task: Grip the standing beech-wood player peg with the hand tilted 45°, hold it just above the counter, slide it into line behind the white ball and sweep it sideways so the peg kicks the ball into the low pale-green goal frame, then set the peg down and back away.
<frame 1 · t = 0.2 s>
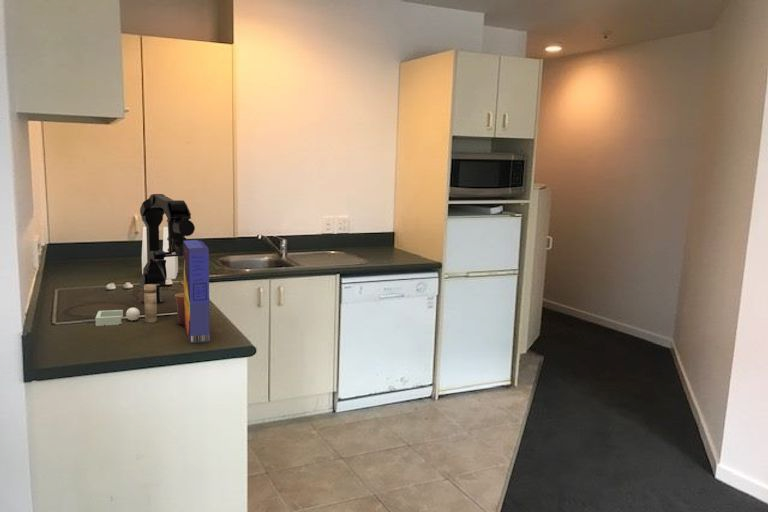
hand: (178, 277, 224), 14 cm above the countertop, tool pointing down, fingers open, 9 cm apart
cereal box: (196, 334, 201), on the countertop
milk carton: (160, 276, 309), on the countertop
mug: (192, 323, 216), on the countertop
player peg: (151, 321, 216), on the countertop
ball: (132, 314, 216), point 2 cm above the countertop
goal: (109, 321, 214), on the countertop
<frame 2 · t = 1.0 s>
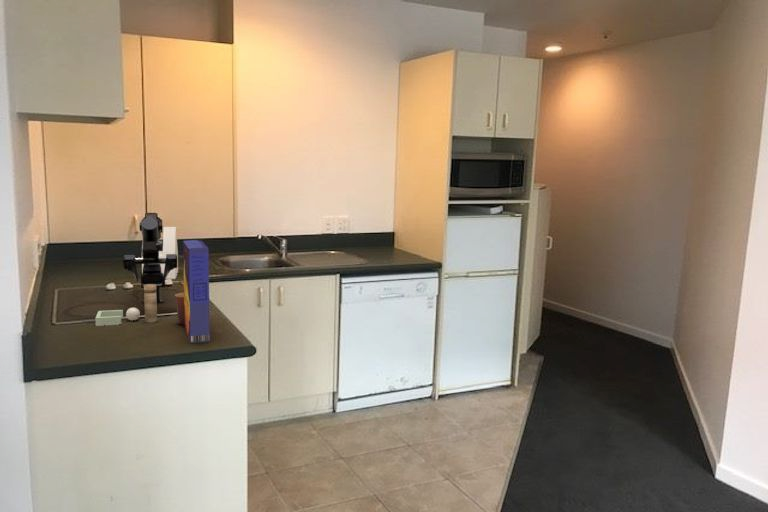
hand: (150, 280, 222), 13 cm above the countertop, tool tilted 45°, fingers open, 9 cm apart
nothing on the countertop moved.
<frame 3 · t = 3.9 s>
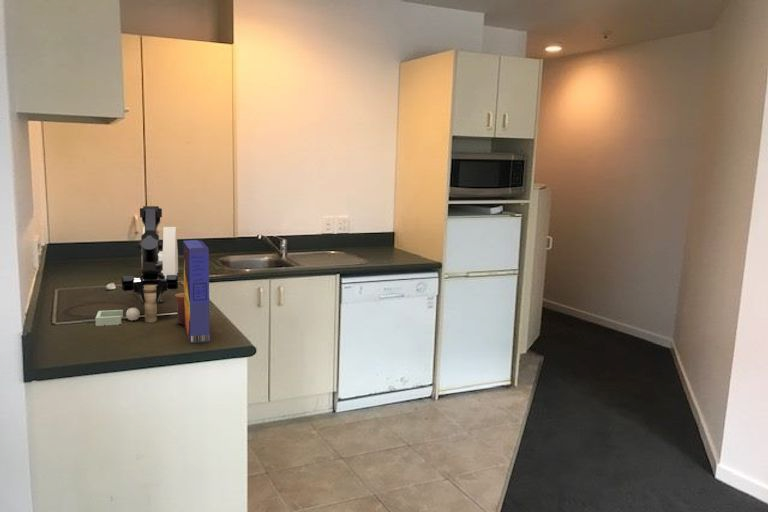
hand: (150, 302, 214), 7 cm above the countertop, tool tilted 45°, fingers closed on player peg, 4 cm apart
player peg: (151, 321, 216), on the countertop, touching gripper
everything else where it was.
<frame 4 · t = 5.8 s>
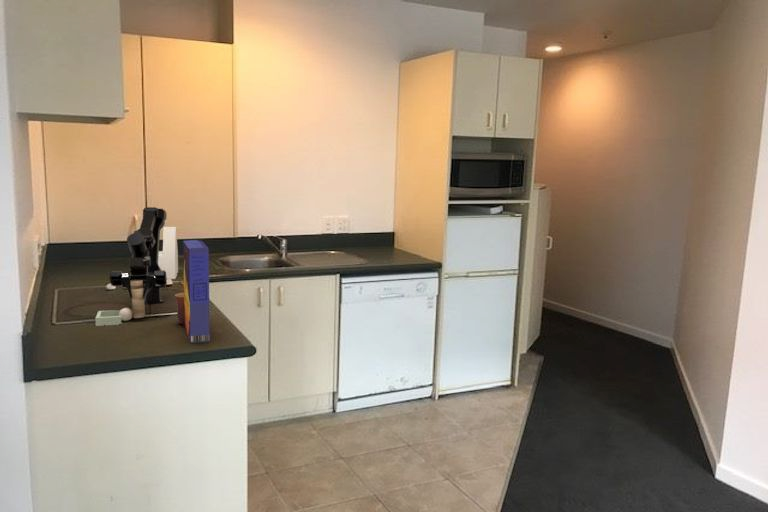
hand: (137, 297, 214), 8 cm above the countertop, tool tilted 45°, fingers closed on player peg, 4 cm apart
player peg: (139, 316, 217), point 1 cm above the countertop, touching gripper
ball: (125, 314, 216), point 2 cm above the countertop, tilted 57°
everything else where it was.
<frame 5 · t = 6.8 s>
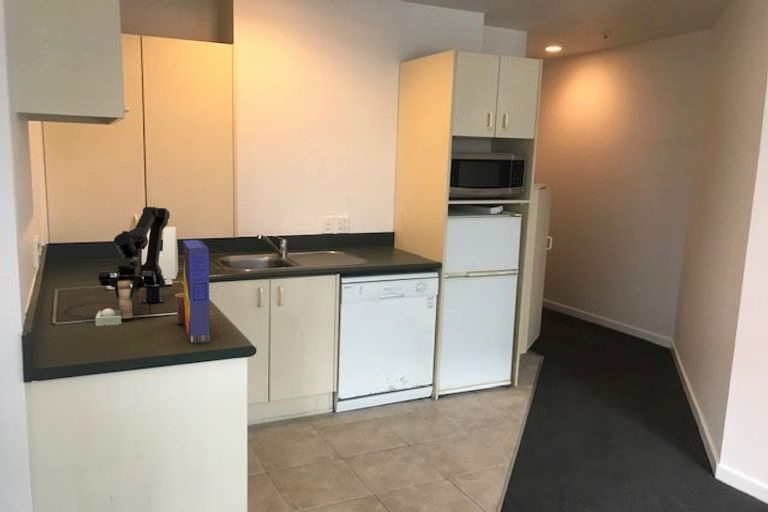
hand: (124, 298, 213), 8 cm above the countertop, tool tilted 45°, fingers closed on player peg, 4 cm apart
player peg: (126, 317, 216), point 1 cm above the countertop, touching gripper
ball: (108, 315, 214), point 2 cm above the countertop, tilted 159°
everything else where it was.
when the fingers open (7 cm above the countertop, at t = 7.7 s): player peg stays where it is, on the countertop.
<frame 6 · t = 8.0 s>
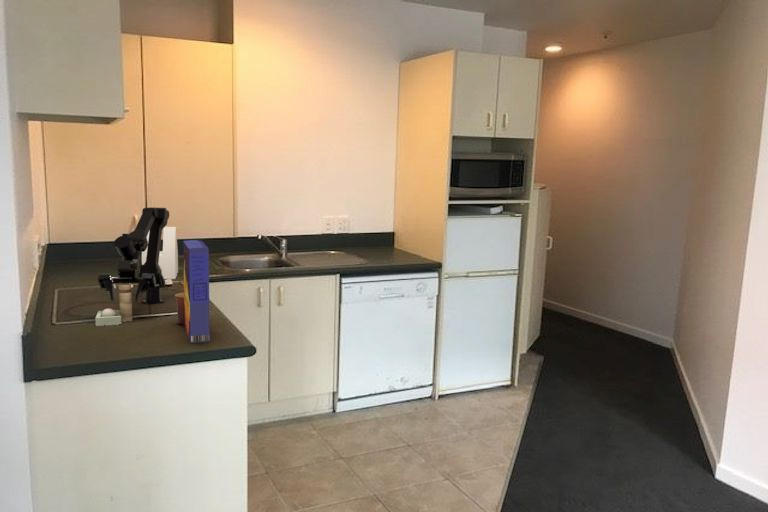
hand: (124, 300, 213), 8 cm above the countertop, tool tilted 45°, fingers open, 8 cm apart
player peg: (126, 320, 216), on the countertop
everything else where it was.
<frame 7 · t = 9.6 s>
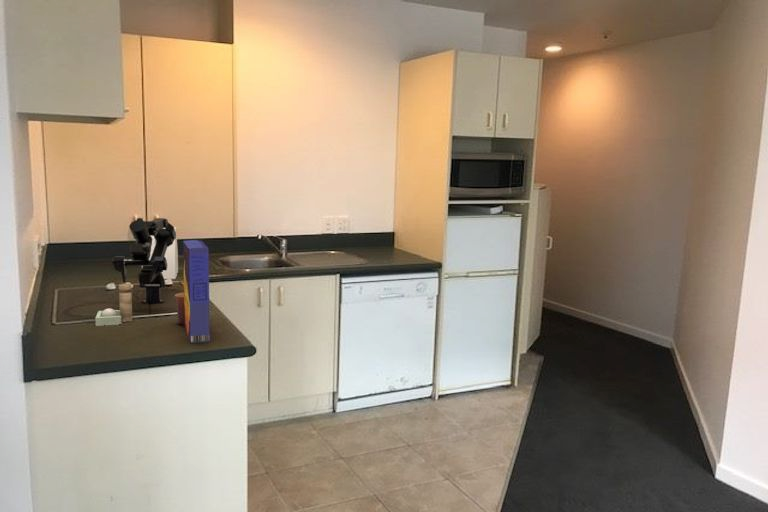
hand: (137, 281, 224), 12 cm above the countertop, tool tilted 45°, fingers open, 9 cm apart
nothing on the countertop moved.
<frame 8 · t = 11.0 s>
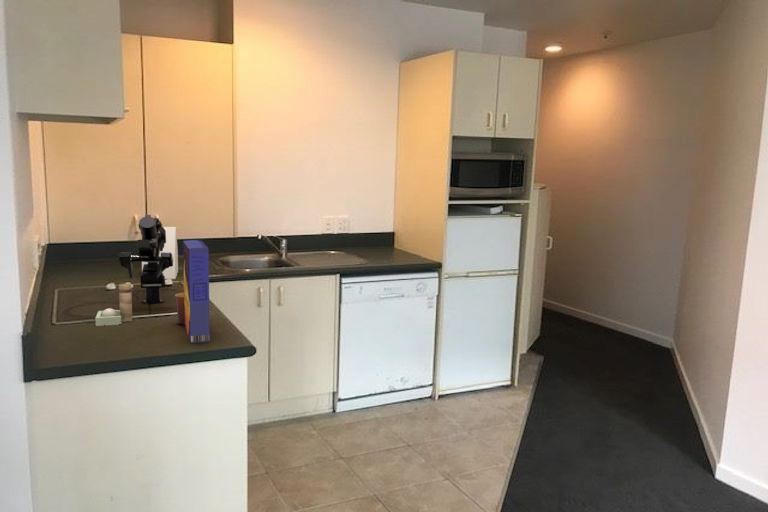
hand: (143, 277, 226), 14 cm above the countertop, tool tilted 45°, fingers open, 9 cm apart
nothing on the countertop moved.
at the end: ball 0.6 cm from the goal (horizontally); ball point 2.3 cm above the countertop; the gripper is holding nothing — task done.
